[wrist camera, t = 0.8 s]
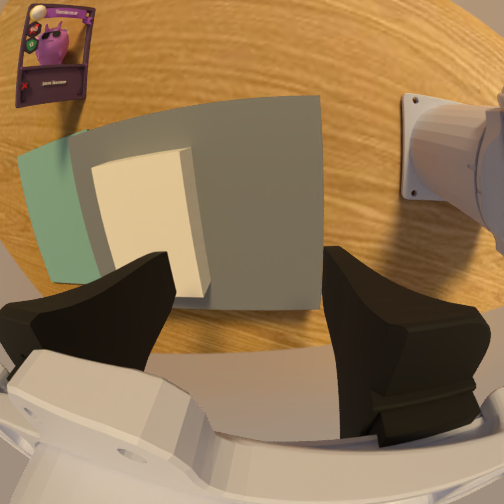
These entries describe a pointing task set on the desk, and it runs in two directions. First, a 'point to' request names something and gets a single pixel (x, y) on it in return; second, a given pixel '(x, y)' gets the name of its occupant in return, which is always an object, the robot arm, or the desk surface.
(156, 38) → the desk surface
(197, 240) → the beige rectangular block
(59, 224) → the mat
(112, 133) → the plate
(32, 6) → the game card
